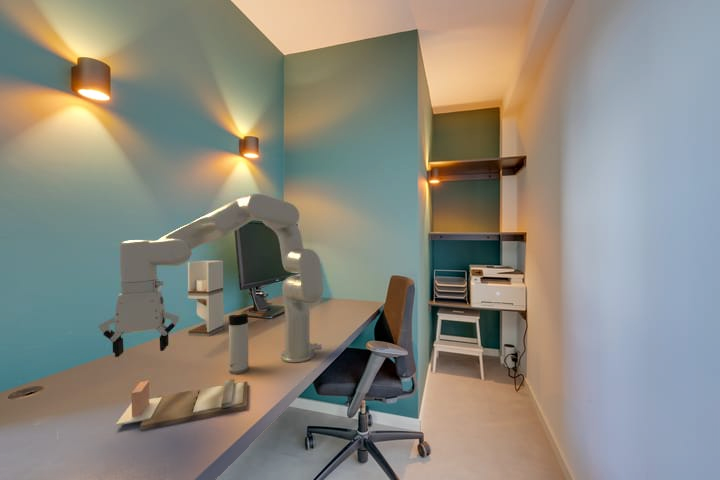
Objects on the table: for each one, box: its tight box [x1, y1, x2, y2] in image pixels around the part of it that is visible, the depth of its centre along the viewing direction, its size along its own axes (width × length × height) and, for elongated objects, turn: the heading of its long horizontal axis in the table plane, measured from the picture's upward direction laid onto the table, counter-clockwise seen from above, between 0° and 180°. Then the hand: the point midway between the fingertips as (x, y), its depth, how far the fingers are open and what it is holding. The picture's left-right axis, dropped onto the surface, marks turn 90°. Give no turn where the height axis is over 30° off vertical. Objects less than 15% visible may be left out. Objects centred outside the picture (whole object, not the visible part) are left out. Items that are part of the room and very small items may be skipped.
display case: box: [187, 260, 224, 337], centre depth 144 cm, size 11×11×35 cm
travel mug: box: [228, 313, 249, 375], centre depth 102 cm, size 6×7×20 cm
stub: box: [115, 380, 162, 426], centre depth 76 cm, size 7×10×6 cm
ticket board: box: [139, 378, 249, 431], centre depth 81 cm, size 24×14×3 cm, turn 110°
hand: (141, 352), depth 76 cm, fingers open, 9 cm apart
